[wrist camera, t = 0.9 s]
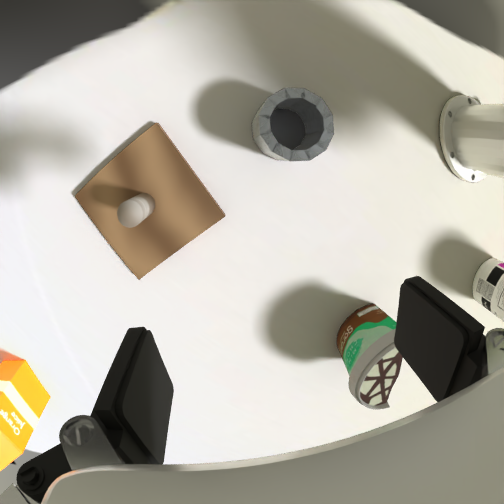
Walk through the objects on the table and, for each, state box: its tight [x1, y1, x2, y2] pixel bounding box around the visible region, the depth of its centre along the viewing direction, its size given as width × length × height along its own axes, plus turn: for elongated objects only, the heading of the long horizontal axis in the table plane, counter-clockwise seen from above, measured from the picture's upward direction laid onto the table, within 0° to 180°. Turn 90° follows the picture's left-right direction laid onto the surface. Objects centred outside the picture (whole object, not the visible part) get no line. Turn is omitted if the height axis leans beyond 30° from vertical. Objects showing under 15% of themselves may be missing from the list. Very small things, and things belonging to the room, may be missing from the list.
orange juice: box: [0, 360, 50, 471], centre depth 26 cm, size 8×9×20 cm
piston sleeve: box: [252, 88, 334, 161], centre depth 25 cm, size 6×6×6 cm
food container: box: [337, 304, 403, 409], centre depth 32 cm, size 12×6×10 cm, turn 2°
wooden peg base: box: [75, 123, 225, 279], centre depth 26 cm, size 12×12×6 cm
